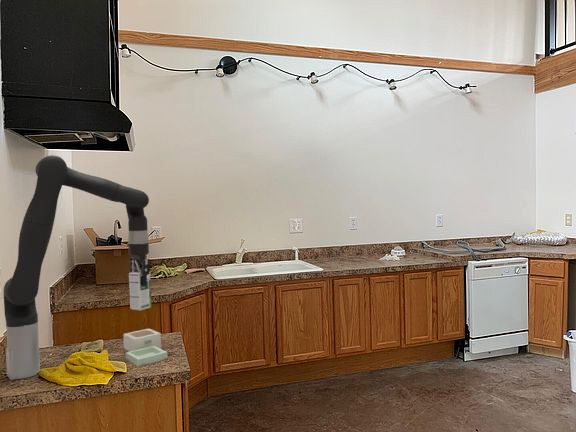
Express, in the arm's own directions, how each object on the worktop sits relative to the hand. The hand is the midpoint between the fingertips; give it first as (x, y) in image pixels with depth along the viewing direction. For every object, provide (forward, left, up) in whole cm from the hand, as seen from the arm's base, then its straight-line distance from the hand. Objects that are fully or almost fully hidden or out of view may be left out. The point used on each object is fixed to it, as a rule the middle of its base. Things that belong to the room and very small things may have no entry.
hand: (139, 284), depth 174 cm
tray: (-4, -13, -25) cm, 29 cm away
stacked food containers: (0, 0, -25) cm, 25 cm away
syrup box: (0, 0, -10) cm, 10 cm away
